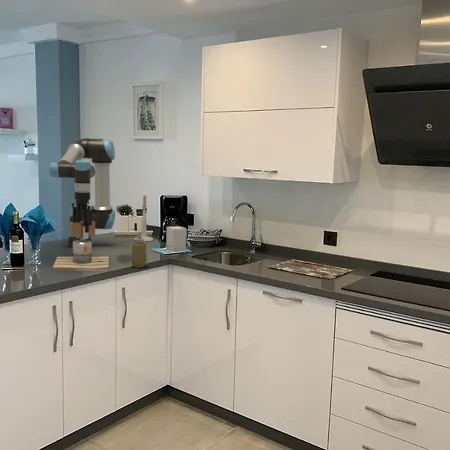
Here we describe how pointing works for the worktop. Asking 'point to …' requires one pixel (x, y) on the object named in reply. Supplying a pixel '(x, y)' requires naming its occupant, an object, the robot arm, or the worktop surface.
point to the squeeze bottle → (138, 252)
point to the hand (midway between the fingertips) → (82, 238)
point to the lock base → (81, 264)
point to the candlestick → (144, 223)
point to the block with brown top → (81, 238)
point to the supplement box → (176, 239)
